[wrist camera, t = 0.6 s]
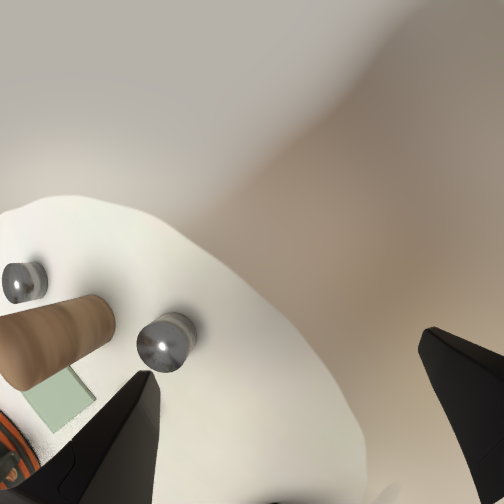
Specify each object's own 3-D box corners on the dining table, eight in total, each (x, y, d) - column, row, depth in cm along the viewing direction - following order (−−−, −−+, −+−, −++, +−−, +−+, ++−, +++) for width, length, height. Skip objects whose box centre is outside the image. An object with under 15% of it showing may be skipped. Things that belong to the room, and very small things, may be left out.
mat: (55, 431, 23) (53, 433, 22) (3, 359, 23) (0, 360, 22) (96, 398, 23) (93, 401, 22) (33, 311, 23) (29, 312, 22)
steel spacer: (36, 306, 23) (13, 311, 19) (21, 277, 23) (-2, 279, 19) (52, 284, 23) (28, 287, 19) (36, 254, 23) (12, 254, 19)
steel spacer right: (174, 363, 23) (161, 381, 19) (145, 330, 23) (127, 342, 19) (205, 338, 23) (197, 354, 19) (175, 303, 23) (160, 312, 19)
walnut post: (96, 353, 23) (19, 402, 11) (67, 314, 23) (-18, 341, 11) (124, 326, 23) (43, 371, 11) (93, 284, 23) (2, 301, 11)
